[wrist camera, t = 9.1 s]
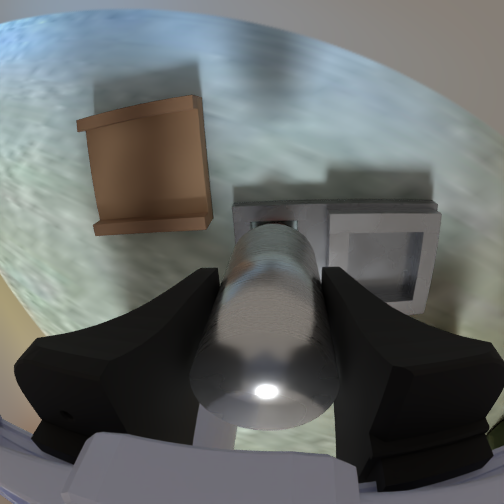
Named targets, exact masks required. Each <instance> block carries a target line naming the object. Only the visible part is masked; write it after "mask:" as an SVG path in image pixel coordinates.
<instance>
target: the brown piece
mask: <svg viewBox="0 0 504 504" xmlns="http://www.w3.org/2000/svg"><path fill="white" fill-rule="evenodd" d="M76 121H77V131H78V132H82V131H86V137H87V145H88V153H89V160H90V167H91V173H92V180H93V186H94V191H95V197H96V202H97V207H98V212H99V217H100V221H98V222H97V223H95V224H94V225H93V227H94V232H95V236H103V235H118V234H135V233H153V232H171V231H192V230H206V229H207V227H208V226H209V224H210V223H211V221H212V220H213V211H212V202H211V193H210V183H209V173H208V163H207V153H206V142H205V131H204V119H203V107H202V97H198V96H194V95H188V96H181V97H175V98H169V99H164V100H158V101H153V102H148V103H143V104H138V105H134V106H129V107H125V108H121V109H117V110H112V111H109V112H105V113H101V114H97V115H93V116H90V117H86V118H83V119H79V120H76Z"/></svg>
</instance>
